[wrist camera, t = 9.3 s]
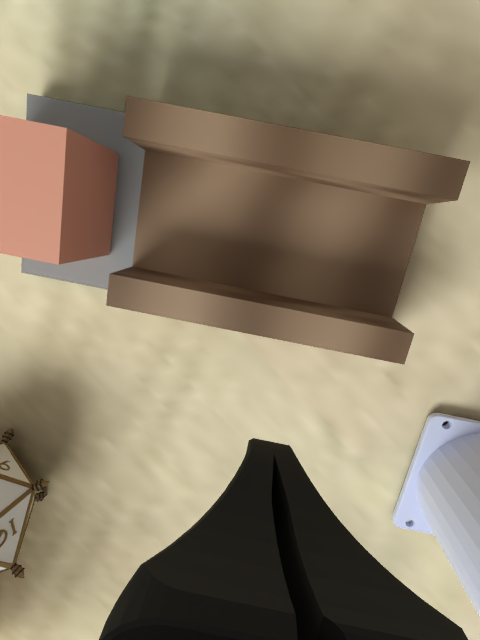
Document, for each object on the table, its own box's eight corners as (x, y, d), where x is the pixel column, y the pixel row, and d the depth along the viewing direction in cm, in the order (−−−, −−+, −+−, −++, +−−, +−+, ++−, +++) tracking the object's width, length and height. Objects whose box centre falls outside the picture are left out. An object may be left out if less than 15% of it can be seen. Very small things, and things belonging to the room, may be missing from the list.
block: (119, 153, 18) (66, 128, 13) (109, 254, 19) (58, 264, 15) (20, 134, 18) (-68, 101, 13) (17, 236, 19) (-64, 240, 15)
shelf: (154, 122, 19) (148, 116, 18) (135, 290, 21) (129, 293, 20) (39, 100, 19) (27, 93, 18) (32, 270, 21) (21, 272, 20)
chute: (427, 174, 19) (470, 161, 15) (377, 338, 21) (404, 364, 17) (154, 122, 19) (126, 95, 15) (135, 290, 21) (106, 305, 17)
